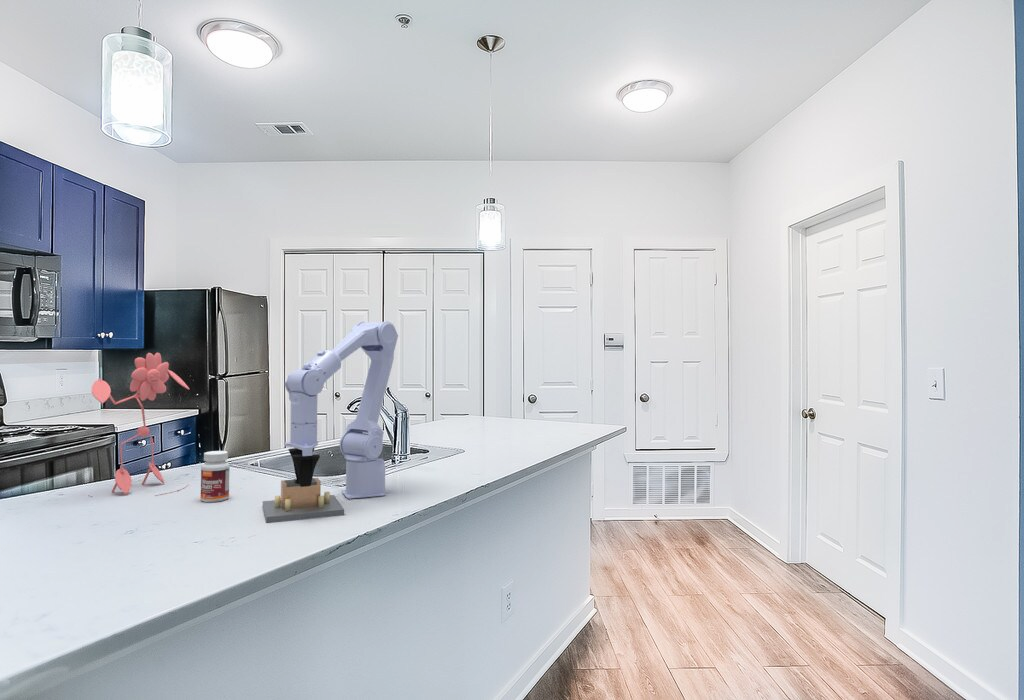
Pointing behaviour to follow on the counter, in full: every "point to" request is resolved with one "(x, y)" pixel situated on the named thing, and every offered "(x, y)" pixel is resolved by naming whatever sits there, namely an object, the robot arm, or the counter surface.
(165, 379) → the figurine
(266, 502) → the grey peg board
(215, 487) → the pill bottle
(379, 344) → the robot arm
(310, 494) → the tan wooden block
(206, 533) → the counter surface
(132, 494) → the counter surface
